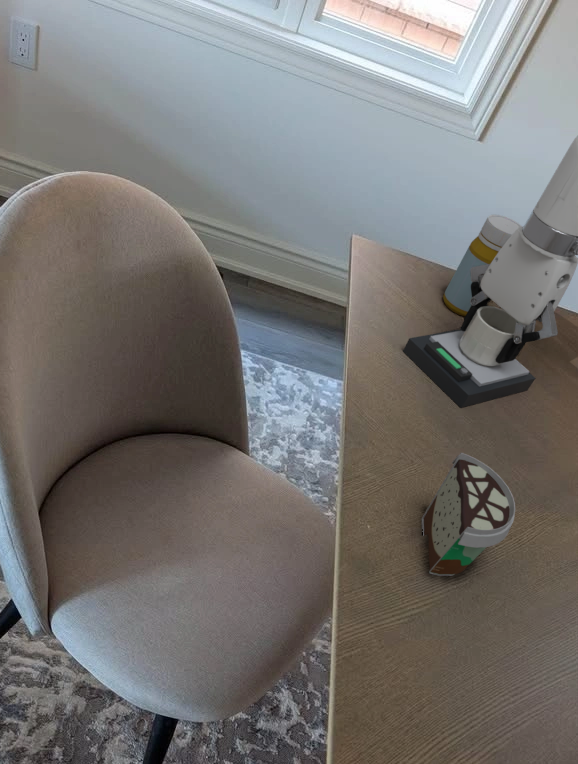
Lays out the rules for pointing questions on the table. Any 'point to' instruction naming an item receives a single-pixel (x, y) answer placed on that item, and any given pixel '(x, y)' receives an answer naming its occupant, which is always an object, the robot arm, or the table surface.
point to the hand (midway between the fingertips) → (485, 344)
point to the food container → (466, 515)
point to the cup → (487, 335)
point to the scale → (465, 370)
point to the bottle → (477, 260)
